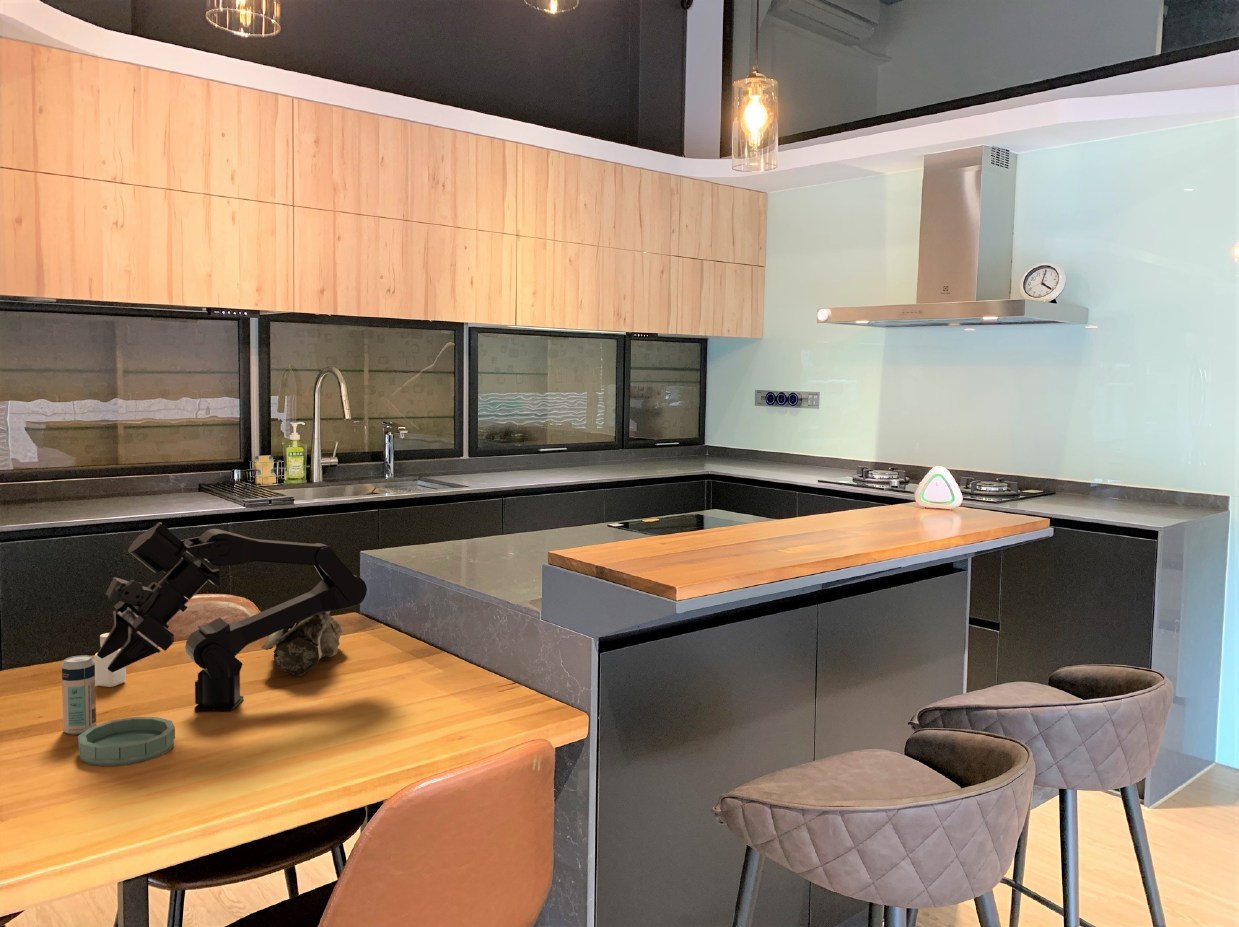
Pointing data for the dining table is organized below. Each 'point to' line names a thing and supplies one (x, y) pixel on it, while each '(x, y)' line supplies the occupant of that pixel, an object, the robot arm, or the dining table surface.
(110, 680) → the pepper shaker
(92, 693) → the beer can
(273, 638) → the driftwood piece
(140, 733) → the bowl
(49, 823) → the dining table surface
